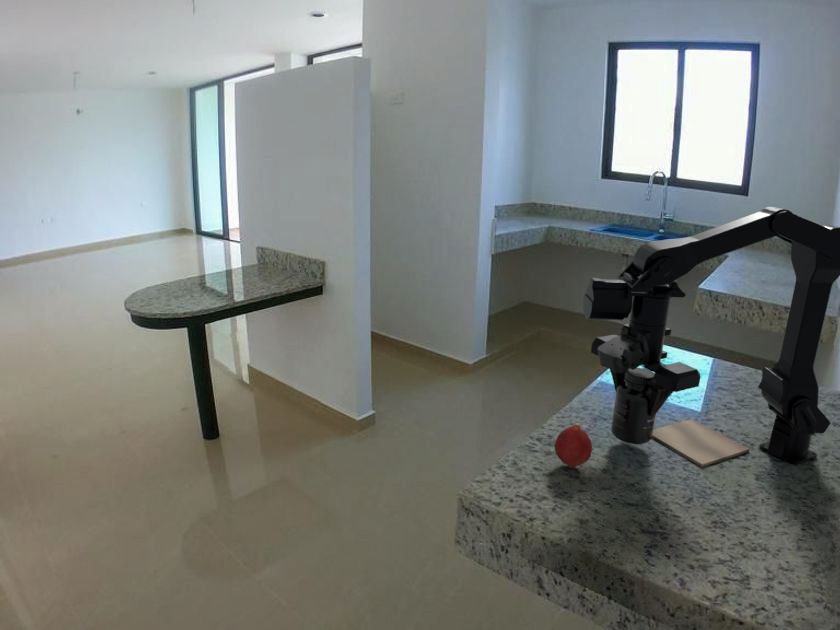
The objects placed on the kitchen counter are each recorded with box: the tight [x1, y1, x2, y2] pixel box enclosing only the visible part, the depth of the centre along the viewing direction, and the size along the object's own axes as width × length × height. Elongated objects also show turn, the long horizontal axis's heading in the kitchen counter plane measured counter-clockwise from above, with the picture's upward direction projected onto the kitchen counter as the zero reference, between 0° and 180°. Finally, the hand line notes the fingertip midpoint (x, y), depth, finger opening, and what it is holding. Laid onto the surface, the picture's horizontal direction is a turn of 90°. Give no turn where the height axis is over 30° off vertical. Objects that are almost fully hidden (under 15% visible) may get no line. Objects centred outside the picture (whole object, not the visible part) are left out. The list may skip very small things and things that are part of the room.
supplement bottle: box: [610, 367, 657, 445], centre depth 98 cm, size 7×7×12 cm
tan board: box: [651, 418, 750, 468], centre depth 102 cm, size 12×12×1 cm
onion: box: [554, 422, 593, 469], centre depth 93 cm, size 6×6×8 cm
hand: (635, 406), depth 99 cm, fingers closed on supplement bottle, 7 cm apart
